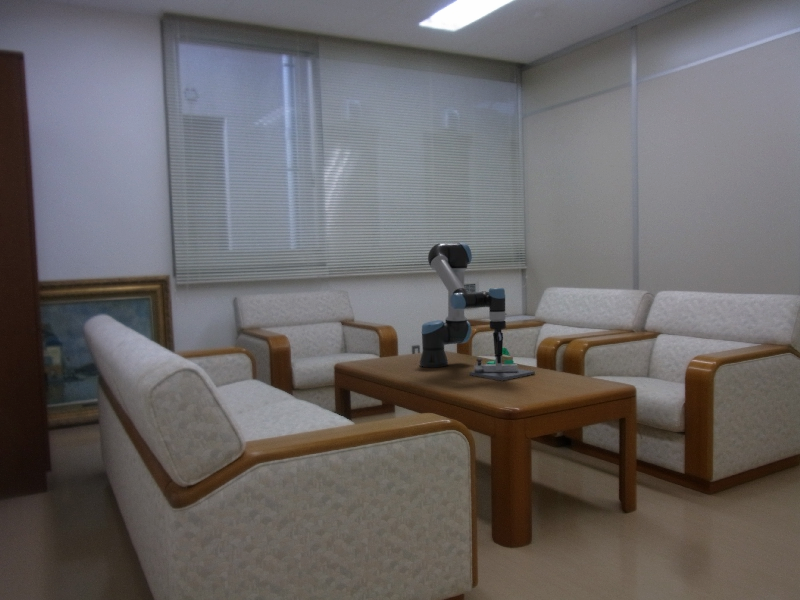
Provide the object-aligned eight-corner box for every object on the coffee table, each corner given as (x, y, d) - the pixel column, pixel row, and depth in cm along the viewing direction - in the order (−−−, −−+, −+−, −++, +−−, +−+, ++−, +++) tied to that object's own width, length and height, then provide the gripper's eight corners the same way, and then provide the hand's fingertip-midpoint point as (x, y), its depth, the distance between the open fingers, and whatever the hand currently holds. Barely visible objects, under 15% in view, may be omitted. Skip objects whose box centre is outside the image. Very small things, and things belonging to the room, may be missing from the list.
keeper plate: (469, 375, 319) (468, 359, 318) (501, 369, 332) (501, 354, 332) (502, 380, 301) (502, 364, 301) (535, 374, 315) (534, 358, 314)
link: (474, 372, 316) (473, 360, 316) (474, 370, 321) (474, 358, 320) (517, 371, 313) (517, 359, 313) (517, 370, 318) (516, 358, 318)
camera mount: (504, 364, 347) (503, 345, 347) (513, 366, 341) (513, 346, 340) (486, 367, 341) (485, 347, 341) (495, 368, 335) (494, 348, 334)
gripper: (508, 321, 306) (509, 371, 308) (503, 319, 319) (504, 367, 320) (492, 321, 306) (493, 372, 307) (487, 319, 319) (488, 368, 320)
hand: (498, 369), depth 314 cm, fingers closed
